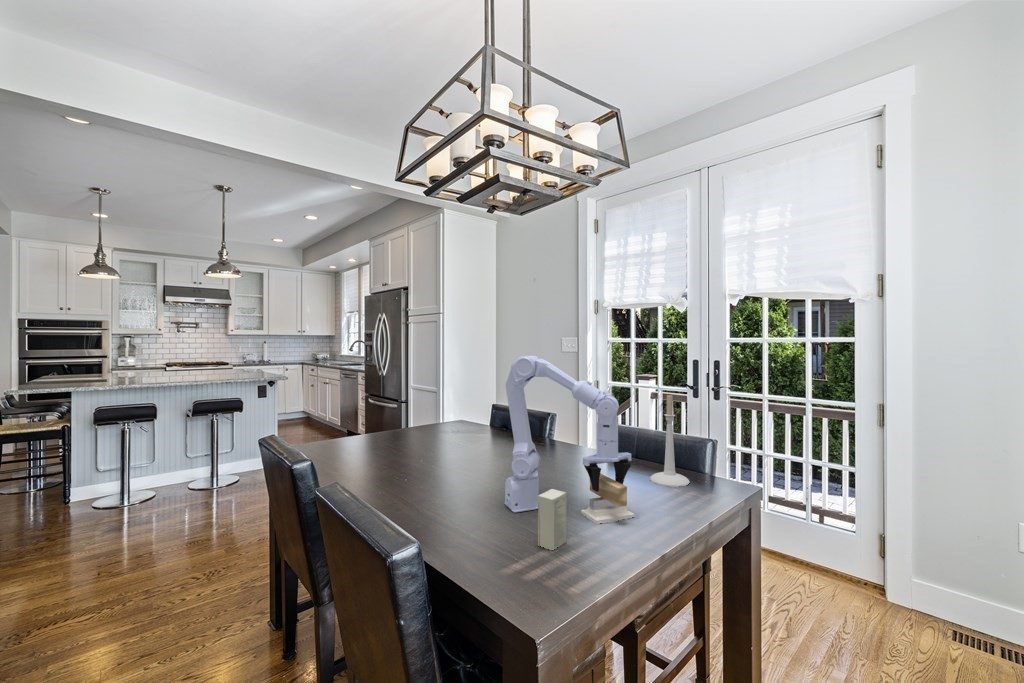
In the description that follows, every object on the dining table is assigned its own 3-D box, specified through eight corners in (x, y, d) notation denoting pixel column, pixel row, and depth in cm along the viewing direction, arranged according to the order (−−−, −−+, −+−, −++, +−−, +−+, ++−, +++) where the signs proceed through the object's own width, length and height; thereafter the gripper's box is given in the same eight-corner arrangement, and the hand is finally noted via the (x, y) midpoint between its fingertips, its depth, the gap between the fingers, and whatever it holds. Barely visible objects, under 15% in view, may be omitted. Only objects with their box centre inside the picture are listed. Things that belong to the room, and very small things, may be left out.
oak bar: (618, 507, 118) (617, 487, 118) (589, 490, 131) (589, 473, 131) (626, 505, 119) (626, 486, 119) (598, 489, 132) (598, 472, 132)
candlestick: (695, 487, 148) (695, 396, 148) (656, 487, 149) (656, 396, 149) (681, 475, 161) (681, 392, 161) (645, 475, 161) (645, 391, 161)
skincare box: (552, 537, 111) (552, 488, 111) (567, 542, 108) (567, 492, 108) (537, 546, 106) (536, 494, 106) (552, 552, 103) (552, 499, 103)
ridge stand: (596, 524, 119) (596, 505, 119) (581, 513, 126) (581, 495, 126) (634, 517, 123) (634, 499, 123) (617, 507, 131) (617, 490, 131)
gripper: (592, 445, 118) (592, 496, 118) (638, 440, 123) (638, 490, 124) (578, 439, 125) (578, 488, 125) (622, 435, 130) (622, 482, 130)
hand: (607, 488), depth 125 cm, fingers open, 7 cm apart
